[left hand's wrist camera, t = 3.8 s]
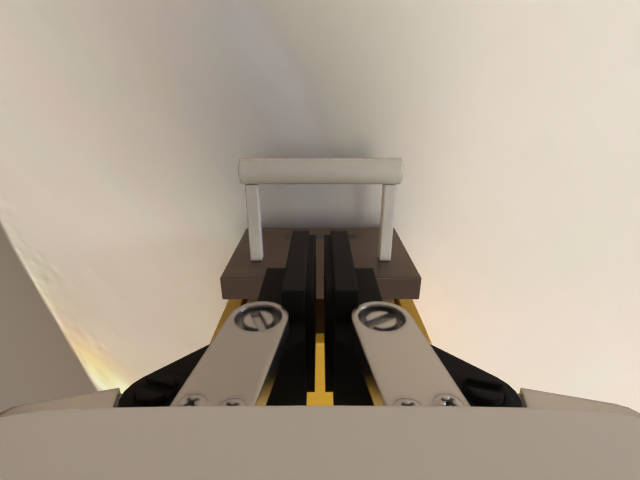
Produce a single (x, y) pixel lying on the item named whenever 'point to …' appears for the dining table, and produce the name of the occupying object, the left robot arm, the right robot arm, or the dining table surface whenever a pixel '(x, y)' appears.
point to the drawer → (366, 243)
